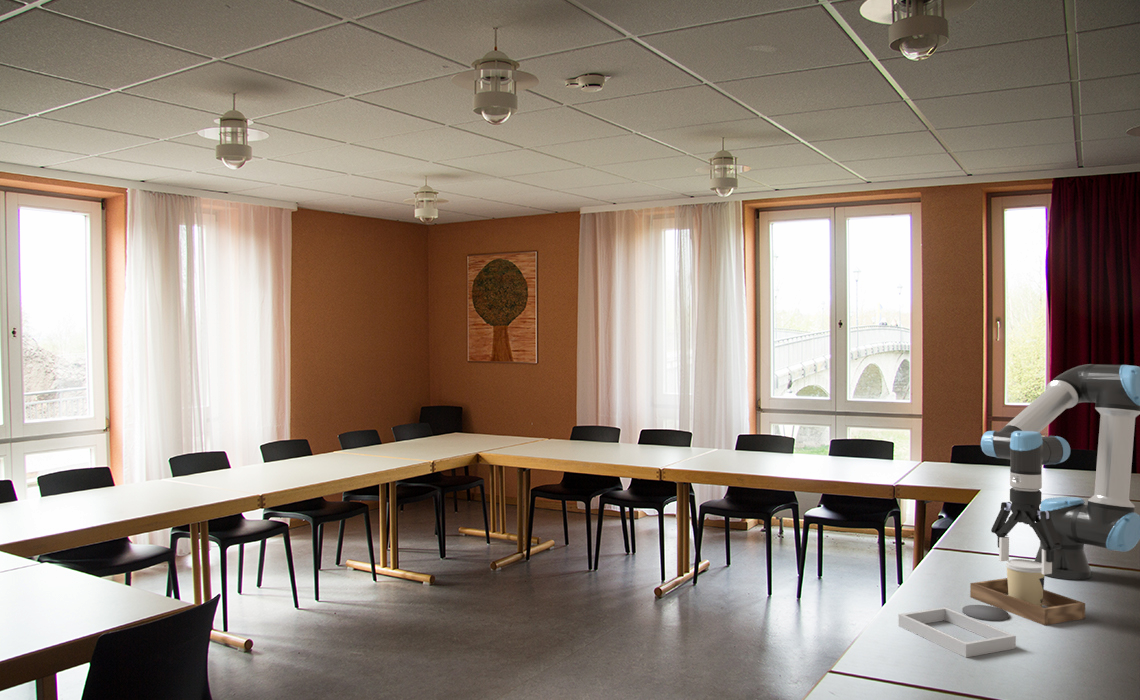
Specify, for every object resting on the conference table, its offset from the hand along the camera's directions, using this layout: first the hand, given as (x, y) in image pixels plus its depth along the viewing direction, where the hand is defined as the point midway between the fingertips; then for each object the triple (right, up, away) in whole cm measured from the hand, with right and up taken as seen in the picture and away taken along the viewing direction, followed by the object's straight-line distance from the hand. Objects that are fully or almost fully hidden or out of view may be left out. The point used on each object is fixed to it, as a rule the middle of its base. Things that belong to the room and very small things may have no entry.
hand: (1024, 567), depth 225 cm
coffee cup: (+1, -11, 0) cm, 11 cm away
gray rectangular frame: (-28, -12, -20) cm, 37 cm away
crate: (+1, -11, 0) cm, 11 cm away
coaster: (-13, -11, -4) cm, 18 cm away
